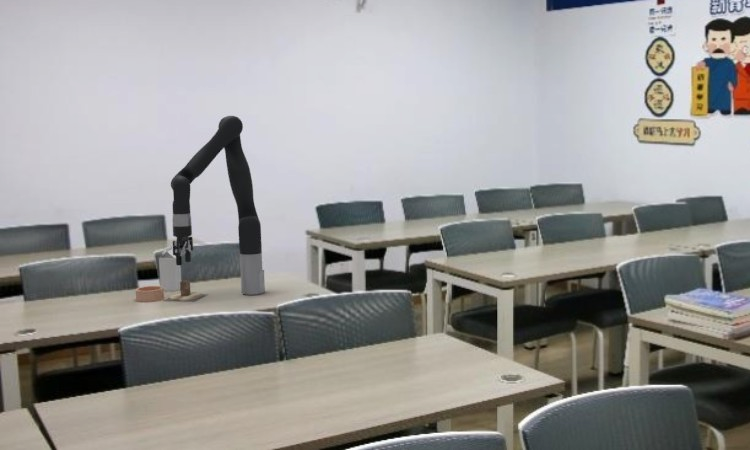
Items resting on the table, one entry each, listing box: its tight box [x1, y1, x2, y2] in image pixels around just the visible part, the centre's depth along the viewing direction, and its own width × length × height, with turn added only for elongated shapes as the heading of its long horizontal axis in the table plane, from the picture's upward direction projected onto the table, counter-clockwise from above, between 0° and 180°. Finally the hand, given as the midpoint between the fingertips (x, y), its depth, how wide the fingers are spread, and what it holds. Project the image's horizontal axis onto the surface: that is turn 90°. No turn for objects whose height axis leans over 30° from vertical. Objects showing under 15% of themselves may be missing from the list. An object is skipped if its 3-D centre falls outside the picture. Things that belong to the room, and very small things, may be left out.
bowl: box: [135, 285, 165, 303], centre depth 340 cm, size 11×11×5 cm
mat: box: [163, 293, 209, 303], centre depth 342 cm, size 14×14×1 cm
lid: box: [169, 279, 203, 302], centre depth 341 cm, size 13×13×7 cm
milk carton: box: [158, 246, 182, 292], centre depth 359 cm, size 7×7×19 cm
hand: (183, 263), depth 340 cm, fingers open, 8 cm apart
